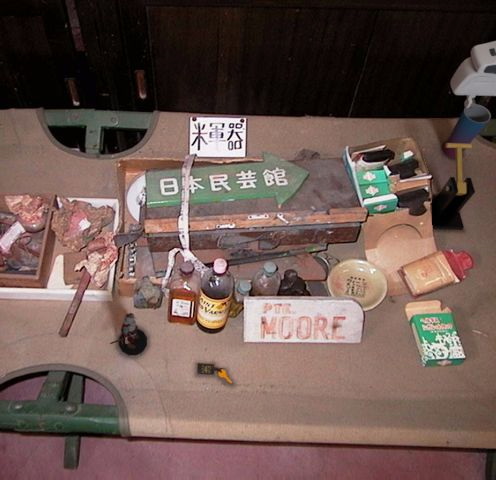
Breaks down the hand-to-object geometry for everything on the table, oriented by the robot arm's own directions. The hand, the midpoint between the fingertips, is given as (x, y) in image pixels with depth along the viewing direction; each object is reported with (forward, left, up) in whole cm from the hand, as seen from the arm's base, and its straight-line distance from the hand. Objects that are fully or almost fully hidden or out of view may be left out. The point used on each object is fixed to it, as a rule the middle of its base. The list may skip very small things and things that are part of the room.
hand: (485, 106), depth 120 cm
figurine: (+79, +49, -29) cm, 97 cm away
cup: (-8, -12, -29) cm, 33 cm away
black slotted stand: (0, +10, -29) cm, 31 cm away
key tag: (+60, +56, -29) cm, 87 cm away
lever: (0, +5, -17) cm, 18 cm away
